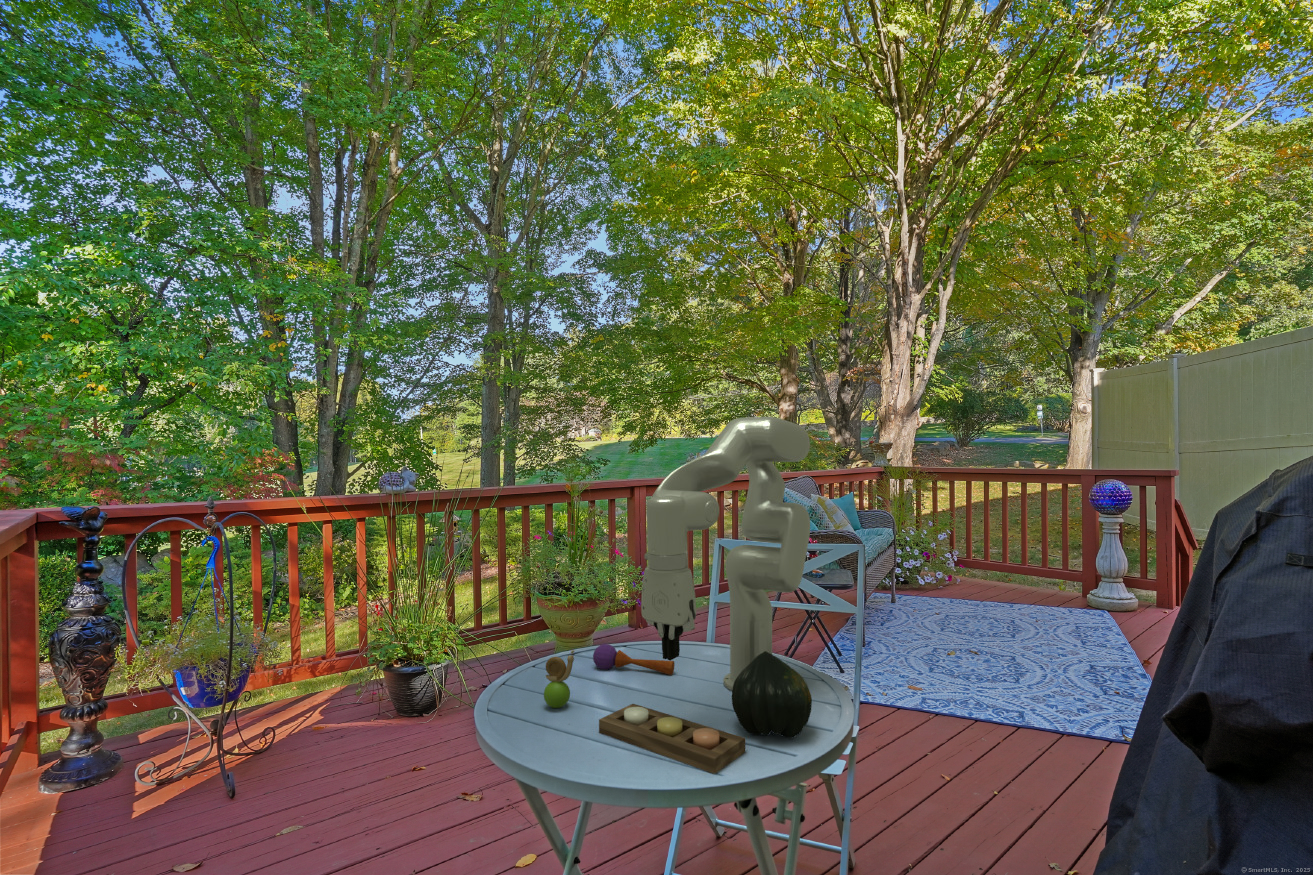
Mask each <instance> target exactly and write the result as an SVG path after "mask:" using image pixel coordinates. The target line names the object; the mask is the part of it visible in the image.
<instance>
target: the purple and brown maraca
mask: <svg viewBox="0 0 1313 875" xmlns="http://www.w3.org/2000/svg"><path fill="white" fill-rule="evenodd" d="M592 659H593V663H594V664H595V666H596V667H597V668H598V669H600V670H604V671H605V670H610V669H612V668H613V667H614V666H615V668H616V669H618V668H621V667H622V668H623V667H624V666H628V665H631V664H632V665H635V666H638V667H640V668H641V667H642V668H645V669H648V670H652V671H655V672H659V673H663V674H666V675H668V676H672V675H673V674H674V672H675V671H674V670H675V661H674V660H665V659H661V660H658V659H642V658H641V659H638V658H632V657H630V656H629V655H628V654H626V653H624V652H623V651H622V650H621V649H619V650H618V651H617V650H616V648H615V647H614V646H613V645H611V644H609V643H603V644H599V645H598V646H597V647H596V648H595V649H594V652H593V654H592Z"/></svg>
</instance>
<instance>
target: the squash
mask: <svg viewBox="0 0 1313 875" xmlns="http://www.w3.org/2000/svg"><path fill="white" fill-rule="evenodd" d="M731 705H732V708H733V711H734V714H735V716H736V718H737V720H738V721H739V724H740V726H741V727H742V729H743V730H745V732H747V733H748V734H749V735H754V736H761V735H763V736H768V735H770V734H771V733H773V734H774V735H780V736H782V737H784V738H786V737H788V738H787V739H791V738H794V737H797V736H799V735H800V734H801V732H802V731H803V729H804V727H805V726H806V725H807V724H808V721H809V720H810V717H811V713H812V708H813V707H812V705H813V702H812V694H811V690H810V688H809V686H808V683H807V681H806V680H805V679H804V678H803V676H802V675H801V674H800V673H799V672H797V671H796V670H795V669H794V668H793V667H791V666H790V665H789V664H788V663H786V662H784V661H783V660H781V659H780V658H779V657H777V656H775V655H774V654H773V653H772V654H770V653H768V652H767V651H764V652H763V653H761V654H759V655H758V656H757V657H756V658H755V659H754V660H753V661H752V662H751V663H750V664H749V665H748V666H747V667H746V668H744V669H743V671H742V672H741V673H740V674H739V675H738V677H737V678H736V680H735V682H734V684H733V689H732V690H731Z"/></svg>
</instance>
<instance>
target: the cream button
mask: <svg viewBox="0 0 1313 875" xmlns="http://www.w3.org/2000/svg"><path fill="white" fill-rule="evenodd" d="M643 707H644V706H643ZM643 707H630V708H627V709H626V710H625V711H624V722H627V723H630V724H633V725H636V726H640V725H641V724H643V723H645V722H647V721H648V710H647V709H646V708H647V707H646V708H643Z"/></svg>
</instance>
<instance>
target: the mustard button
mask: <svg viewBox="0 0 1313 875" xmlns="http://www.w3.org/2000/svg"><path fill="white" fill-rule="evenodd" d="M675 717H676V716H675ZM675 717H664V718H661V719H659V720H658V721H657V733H660V734H663V735H666V736H669V737H675V736H677V735H679V734H680V733H682V720H680V719H678V718H675Z"/></svg>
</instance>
